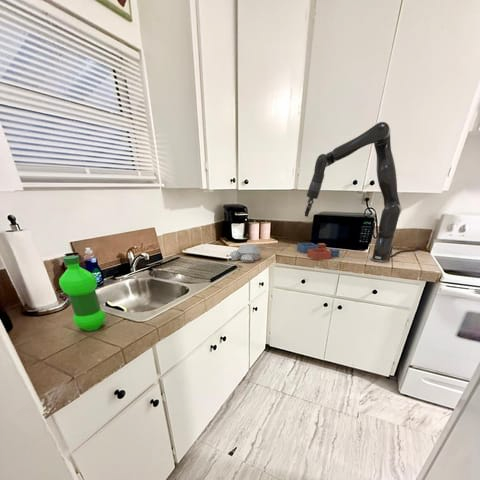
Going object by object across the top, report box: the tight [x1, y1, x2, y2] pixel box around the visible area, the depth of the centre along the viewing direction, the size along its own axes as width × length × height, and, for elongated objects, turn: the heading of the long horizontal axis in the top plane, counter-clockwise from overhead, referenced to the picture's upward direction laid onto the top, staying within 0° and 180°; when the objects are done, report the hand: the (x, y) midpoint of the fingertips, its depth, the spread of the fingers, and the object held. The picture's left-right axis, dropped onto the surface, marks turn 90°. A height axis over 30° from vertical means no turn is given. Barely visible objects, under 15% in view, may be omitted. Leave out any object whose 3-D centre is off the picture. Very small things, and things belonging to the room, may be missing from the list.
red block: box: [317, 242, 327, 250], centre depth 190 cm, size 4×4×4 cm
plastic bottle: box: [58, 254, 107, 332], centre depth 86 cm, size 10×10×25 cm
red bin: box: [306, 248, 332, 261], centre depth 172 cm, size 11×11×4 cm
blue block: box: [329, 248, 340, 258], centre depth 174 cm, size 4×4×4 cm
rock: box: [228, 243, 262, 263], centre depth 168 cm, size 18×20×10 cm
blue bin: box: [296, 242, 319, 254], centre depth 188 cm, size 11×11×4 cm
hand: (306, 215), depth 179 cm, fingers open, 8 cm apart
